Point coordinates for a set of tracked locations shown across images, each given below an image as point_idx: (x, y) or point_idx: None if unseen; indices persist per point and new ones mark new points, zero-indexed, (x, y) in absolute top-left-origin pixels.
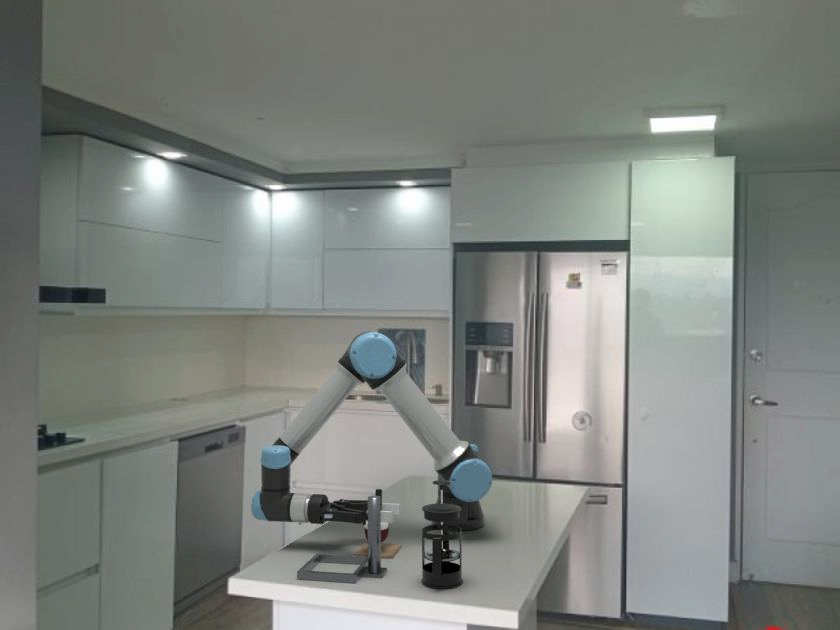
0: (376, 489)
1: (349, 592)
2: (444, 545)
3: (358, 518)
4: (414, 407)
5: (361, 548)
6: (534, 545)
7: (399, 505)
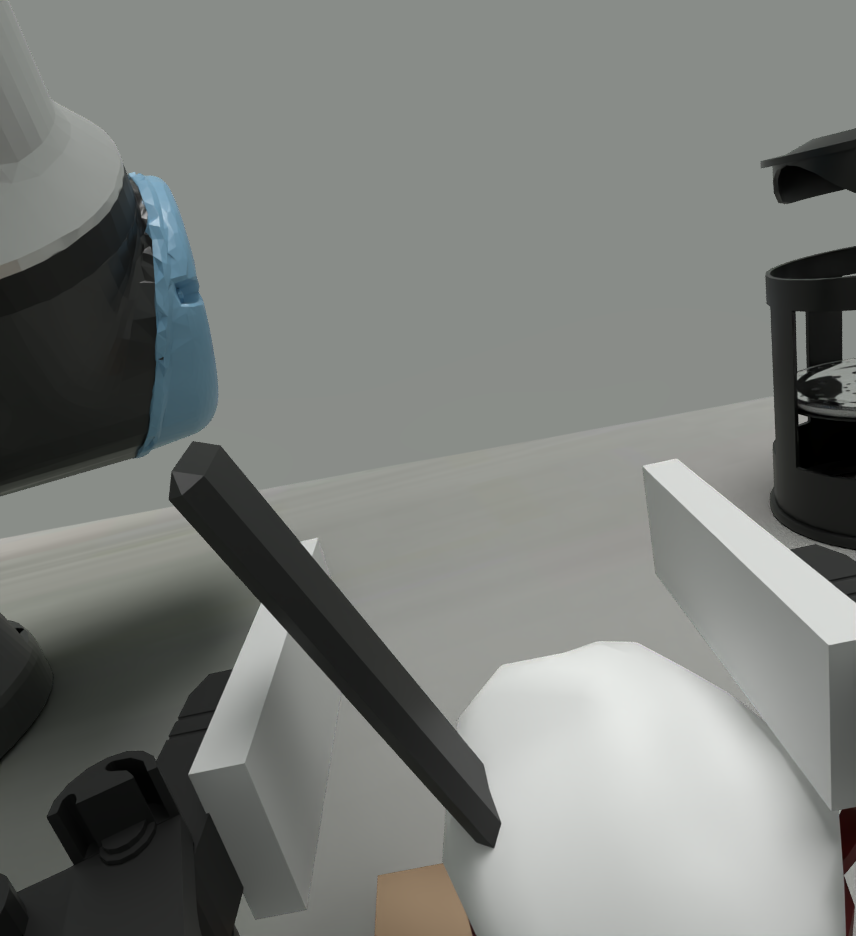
0: (185, 472)
1: None
2: (788, 387)
3: None
4: None
5: None
6: (305, 498)
7: (317, 548)
